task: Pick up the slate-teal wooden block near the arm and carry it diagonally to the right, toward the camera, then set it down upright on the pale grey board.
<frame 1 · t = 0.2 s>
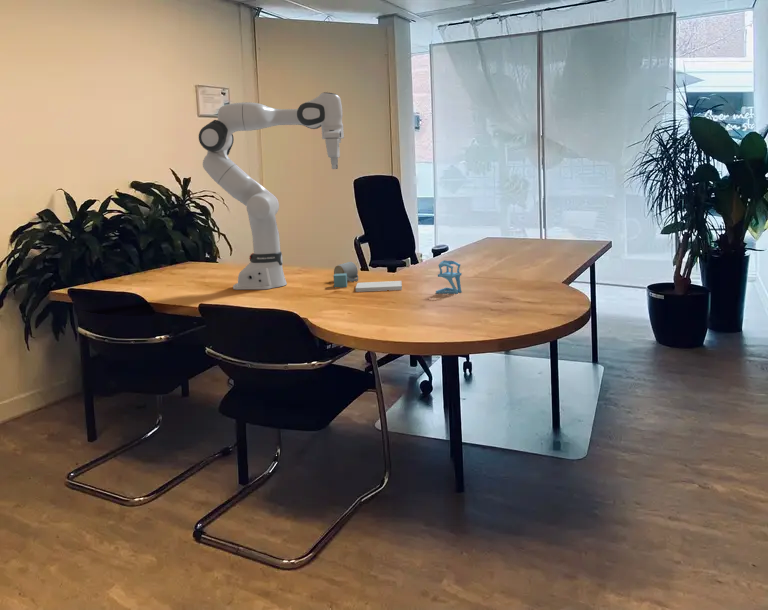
hand: (334, 169, 265), 47 cm above the table, fingers open, 8 cm apart
chair: (450, 292, 243), on the table
ceramic mug: (348, 281, 280), on the table
teal block: (340, 286, 266), on the table
grey board: (379, 288, 258), on the table
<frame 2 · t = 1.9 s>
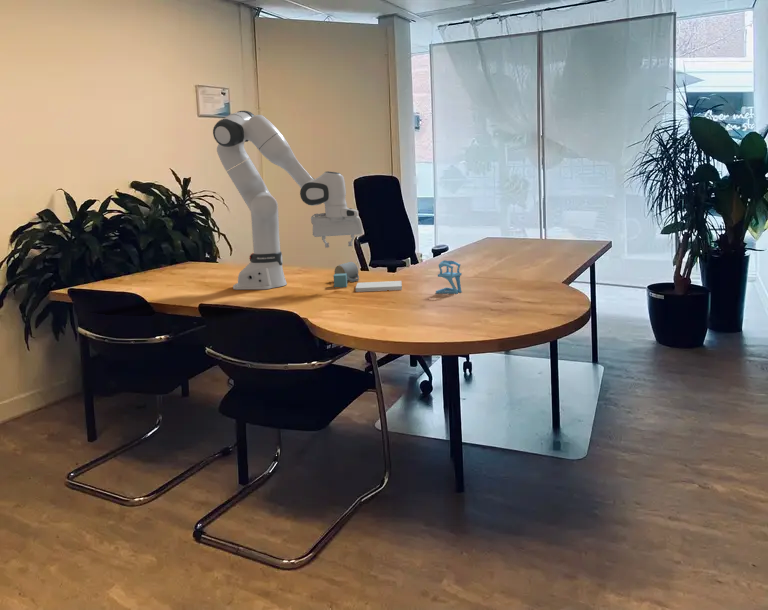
hand: (338, 246, 263), 16 cm above the table, fingers open, 8 cm apart
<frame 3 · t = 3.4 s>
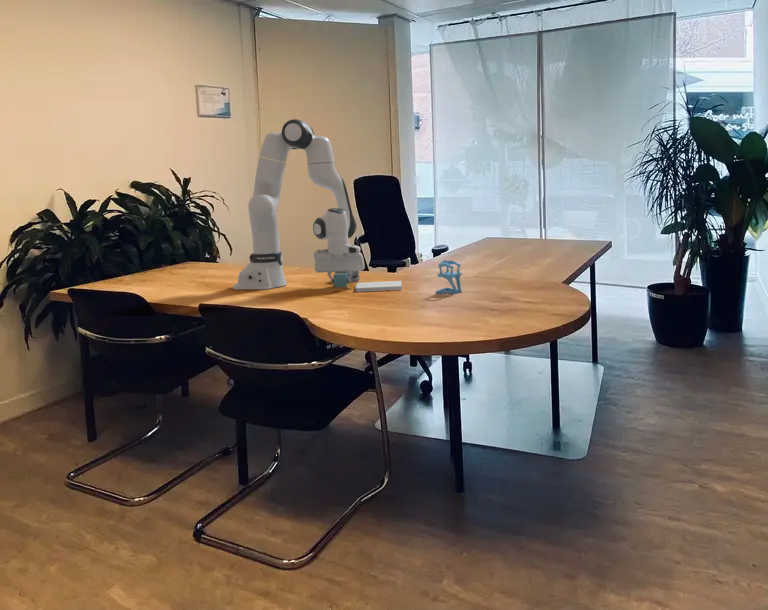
hand: (340, 282, 266), 2 cm above the table, fingers closed on teal block, 5 cm apart
teal block: (340, 286, 266), on the table, touching gripper
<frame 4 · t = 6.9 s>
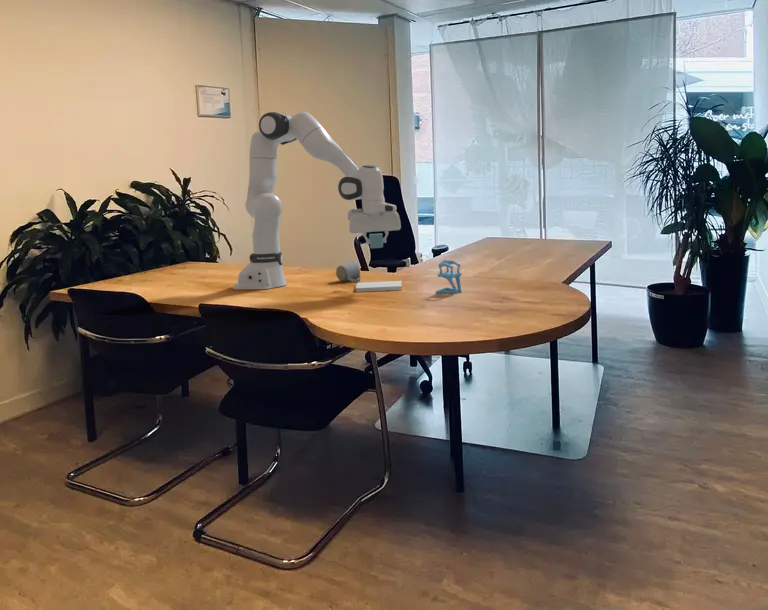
hand: (376, 243, 255), 18 cm above the table, fingers closed on teal block, 5 cm apart
teal block: (376, 247, 255), point 16 cm above the table, touching gripper
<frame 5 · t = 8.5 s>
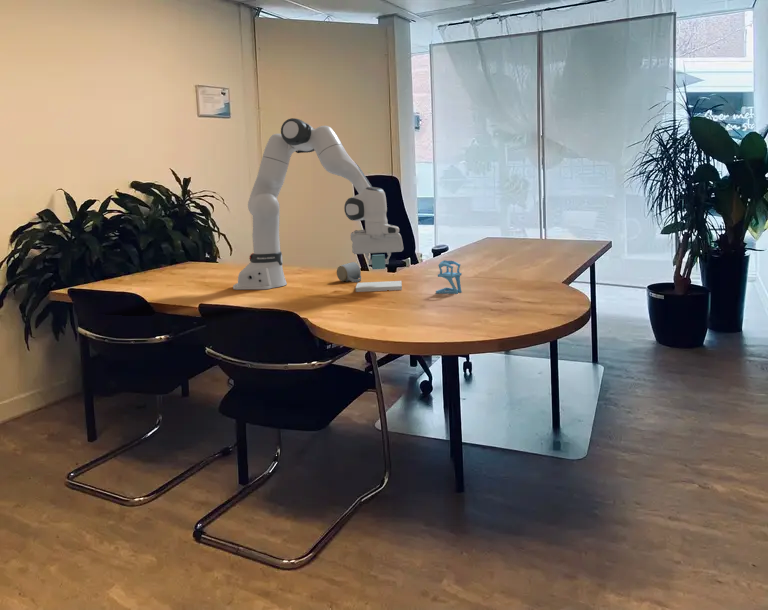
hand: (378, 264, 257), 10 cm above the table, fingers closed on teal block, 5 cm apart
teal block: (378, 268, 257), point 8 cm above the table, touching gripper
when the fingers open (5 cm above the table, at t = 9.9 s): teal block drops 1 cm, resting on grey board.
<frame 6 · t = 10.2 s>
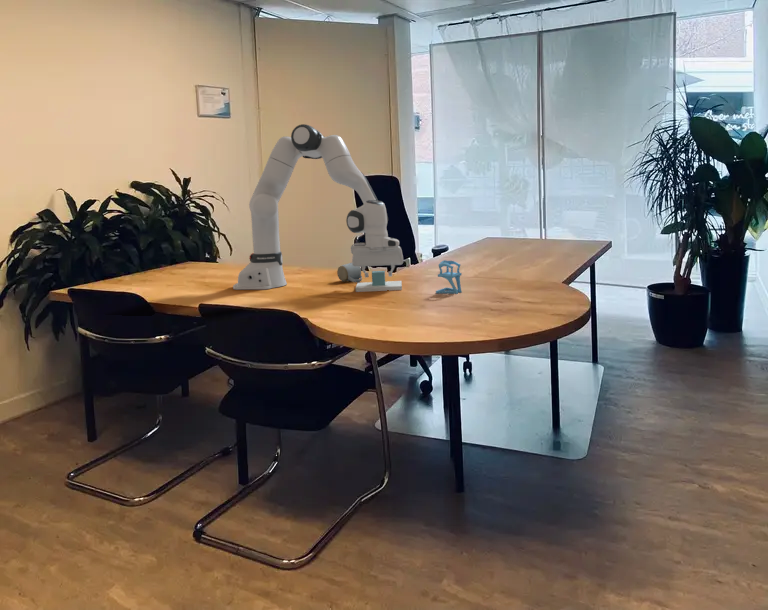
hand: (378, 276, 257), 5 cm above the table, fingers open, 8 cm apart
teal block: (378, 284, 258), point 1 cm above the table, touching grey board
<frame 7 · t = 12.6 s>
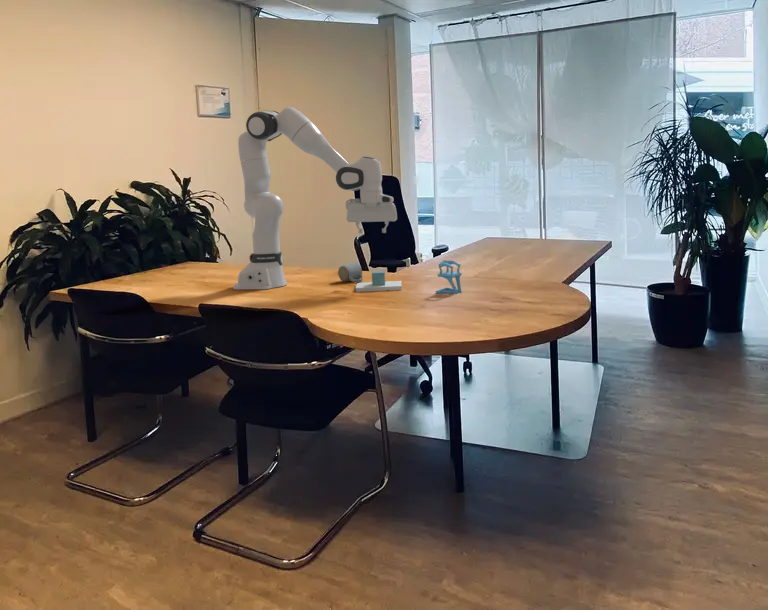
hand: (372, 233, 261), 21 cm above the table, fingers open, 8 cm apart
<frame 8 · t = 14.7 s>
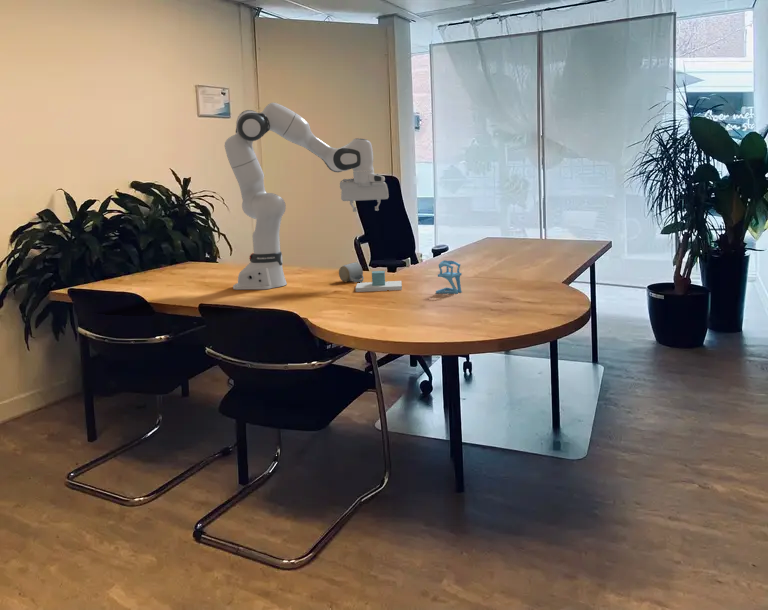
hand: (365, 211, 277), 29 cm above the table, fingers open, 8 cm apart
at the end: teal block inside the target area on the grey board (0.1 cm from its centre), point 1.5 cm above the grey board's base; teal block tilted 0°; the gripper is holding nothing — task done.
